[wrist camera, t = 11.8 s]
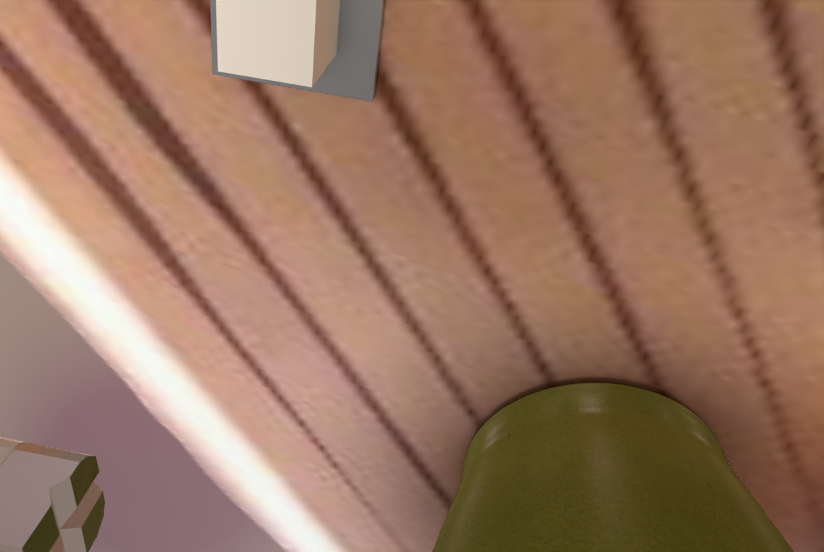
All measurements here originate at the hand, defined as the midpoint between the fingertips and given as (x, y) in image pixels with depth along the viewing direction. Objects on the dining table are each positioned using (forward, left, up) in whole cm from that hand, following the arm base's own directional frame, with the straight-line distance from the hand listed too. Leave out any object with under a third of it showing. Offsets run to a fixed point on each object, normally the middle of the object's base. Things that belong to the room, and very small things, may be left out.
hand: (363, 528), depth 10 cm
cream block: (+9, 0, -30) cm, 32 cm away
